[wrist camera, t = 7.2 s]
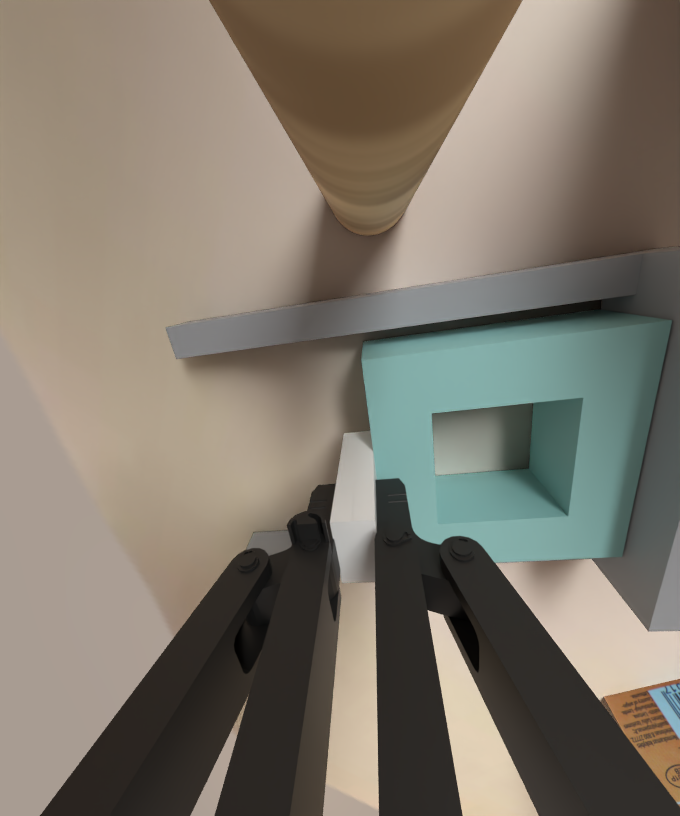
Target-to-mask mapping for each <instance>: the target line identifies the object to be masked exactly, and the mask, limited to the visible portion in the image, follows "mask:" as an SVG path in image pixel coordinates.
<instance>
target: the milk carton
mask: <svg viewBox="0 0 680 816" xmlns="http://www.w3.org/2000/svg"><path fill="white" fill-rule="evenodd" d="M604 698H605V700H606V702H607V704H608V706H609V707H610V709H611V711H612V713H613V715H614V716H615V718H616V720H617V722H618V724H619V725H620V727H621V729H622V731H623V732H624V734H625V735H626V736H627V738H628V739H629V740H630V742H631V743H632V744H633V746H634V747H635V748H636V750H637V751H638V752H639V754H640V755H641V756H642V758H643V759H644V760H645V761H646V763H647V764H648V765H649V767H650V768H651V769H652V771H653V772H654V773H655V775H656V776H657V777H658V779H659V780H660V781H661V783H662V784H663V785H664V787H665V788H666V789H667V790H668V792H669V793H670V794H671V796H672V797H673V798H674V800H675V801H676V802H677V804H678V805H679V806H680V679H678V680H673V681H669V682H665V683H661V684H656V685H652V686H648V687H644V688H639V689H635V690H631V691H627V692H622V693H618V694H614V695H610V696H605V697H604Z"/></svg>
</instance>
